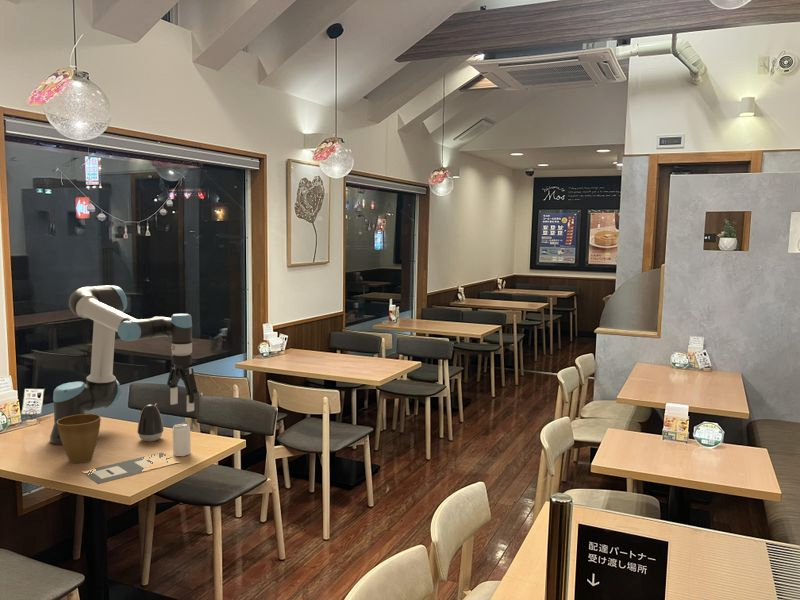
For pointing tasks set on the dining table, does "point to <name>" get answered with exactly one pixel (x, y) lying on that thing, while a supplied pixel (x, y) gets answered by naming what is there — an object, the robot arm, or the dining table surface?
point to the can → (181, 439)
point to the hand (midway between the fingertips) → (182, 407)
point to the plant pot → (79, 436)
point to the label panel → (122, 469)
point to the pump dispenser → (150, 423)
